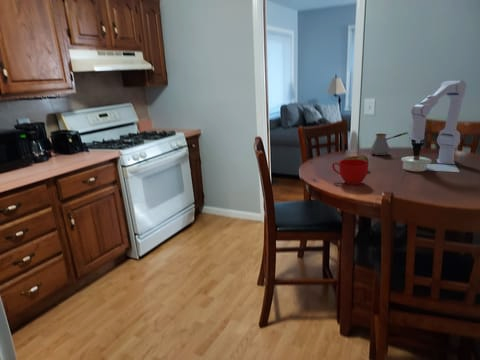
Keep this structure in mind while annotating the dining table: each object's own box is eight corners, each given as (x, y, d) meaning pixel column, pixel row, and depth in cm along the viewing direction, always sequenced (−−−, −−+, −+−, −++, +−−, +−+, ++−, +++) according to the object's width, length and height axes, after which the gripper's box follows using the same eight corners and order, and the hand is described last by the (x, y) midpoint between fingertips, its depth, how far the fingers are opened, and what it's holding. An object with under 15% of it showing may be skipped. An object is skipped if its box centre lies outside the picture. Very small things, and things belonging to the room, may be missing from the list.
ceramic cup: (337, 176, 172) (338, 157, 169) (371, 181, 162) (372, 161, 159) (326, 182, 162) (326, 162, 160) (361, 188, 152) (362, 167, 149)
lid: (401, 157, 186) (402, 149, 185) (430, 158, 180) (431, 150, 179) (401, 163, 174) (402, 155, 173) (432, 164, 168) (433, 156, 167)
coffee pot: (367, 155, 213) (369, 131, 209) (373, 151, 222) (374, 129, 218) (403, 158, 201) (406, 133, 196) (408, 155, 209) (411, 130, 205)
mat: (425, 164, 187) (425, 163, 186) (455, 166, 181) (455, 165, 181) (427, 170, 174) (427, 170, 174) (459, 172, 169) (459, 172, 169)
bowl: (402, 165, 186) (403, 157, 184) (425, 167, 181) (426, 159, 180) (402, 171, 176) (403, 162, 175) (426, 172, 172) (427, 163, 170)
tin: (343, 173, 178) (344, 157, 175) (340, 171, 181) (340, 156, 178) (368, 169, 181) (369, 154, 179) (364, 168, 184) (365, 153, 182)
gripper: (409, 126, 180) (407, 151, 184) (410, 130, 168) (407, 157, 172) (424, 126, 177) (421, 151, 181) (426, 130, 165) (423, 157, 169)
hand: (415, 154), depth 176 cm, fingers open, 7 cm apart
